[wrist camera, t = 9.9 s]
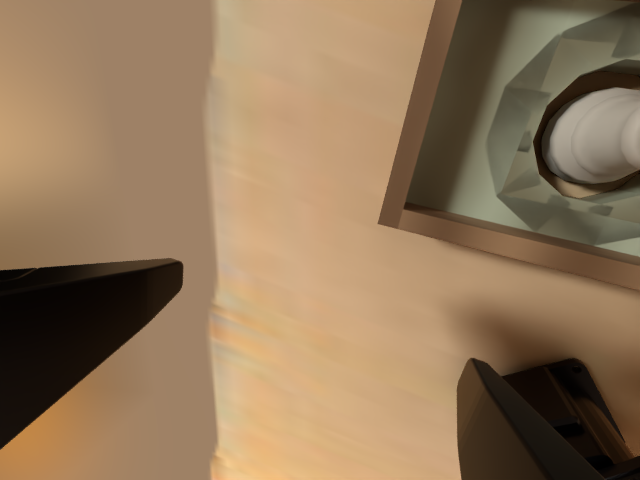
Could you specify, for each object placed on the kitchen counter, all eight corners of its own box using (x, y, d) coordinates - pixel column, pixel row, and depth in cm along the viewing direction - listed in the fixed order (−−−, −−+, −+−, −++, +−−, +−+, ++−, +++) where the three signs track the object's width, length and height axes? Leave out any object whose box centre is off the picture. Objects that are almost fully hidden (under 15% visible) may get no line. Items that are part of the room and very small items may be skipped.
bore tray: (926, 20, 12) (1203, -51, 8) (732, 292, 16) (846, 343, 12) (445, -18, 16) (456, -79, 11) (385, 208, 20) (377, 223, 15)
